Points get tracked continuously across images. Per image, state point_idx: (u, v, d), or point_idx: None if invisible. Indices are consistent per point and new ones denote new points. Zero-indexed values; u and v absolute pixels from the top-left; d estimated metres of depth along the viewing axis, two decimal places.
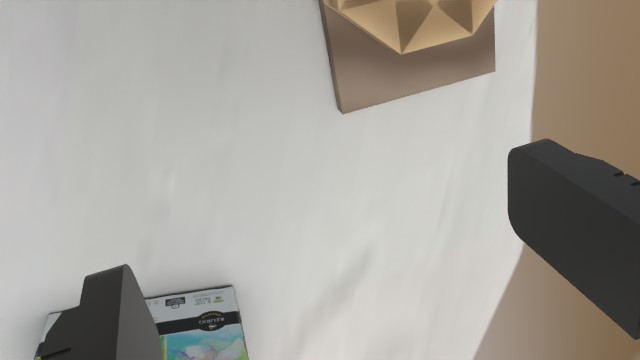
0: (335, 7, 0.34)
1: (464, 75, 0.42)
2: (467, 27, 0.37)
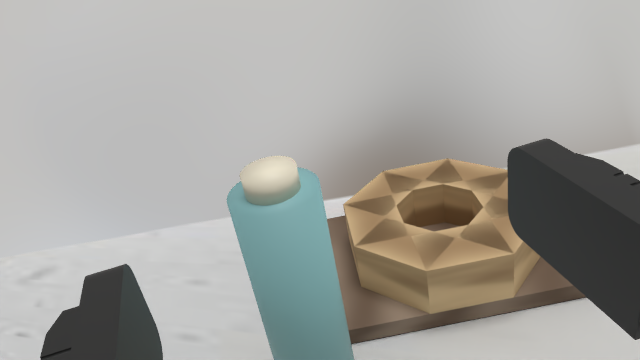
0: (512, 263, 0.32)
1: None
2: (506, 174, 0.40)
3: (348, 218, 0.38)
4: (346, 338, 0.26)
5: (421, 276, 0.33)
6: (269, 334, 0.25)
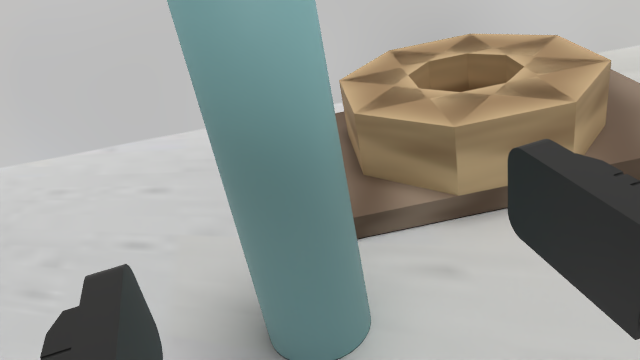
0: (573, 117, 0.23)
1: (610, 73, 0.34)
2: (549, 39, 0.31)
3: (346, 91, 0.29)
4: (342, 179, 0.17)
5: (447, 137, 0.24)
6: (222, 165, 0.16)
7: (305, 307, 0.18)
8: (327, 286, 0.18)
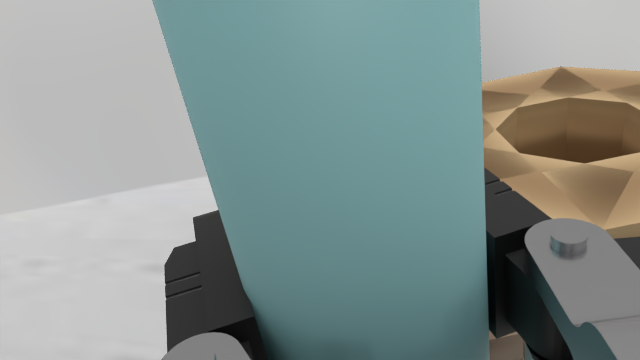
0: None
1: None
2: None
3: None
4: None
5: None
6: None
7: None
8: None
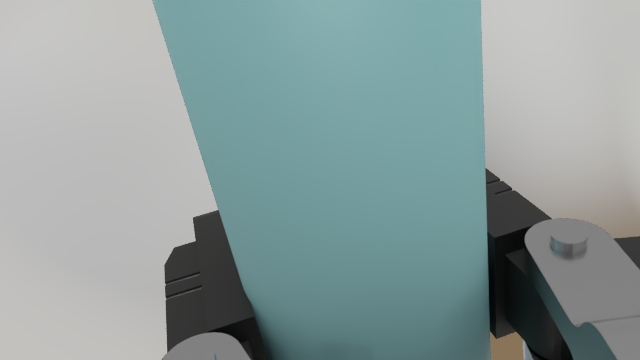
0: None
1: None
2: None
3: None
4: None
5: None
6: None
7: None
8: None
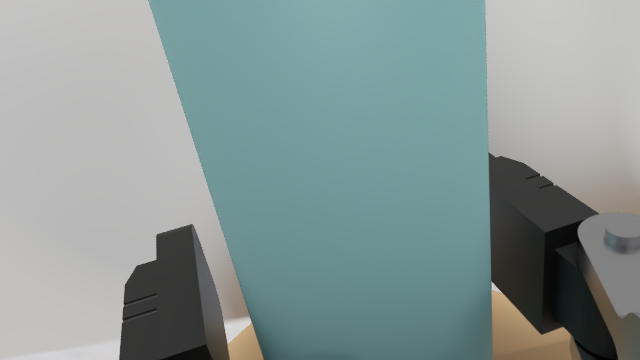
0: None
1: None
2: None
3: None
4: None
5: None
6: None
7: None
8: None
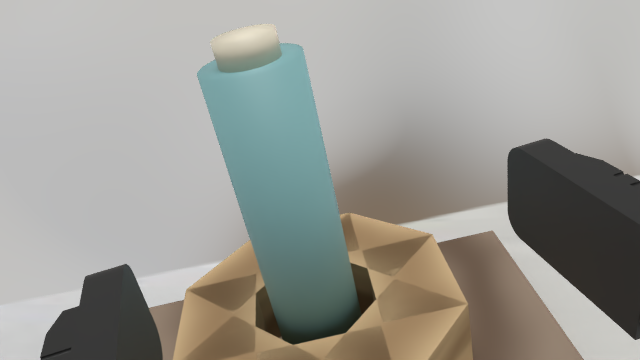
0: None
1: (504, 258, 0.30)
2: (422, 241, 0.27)
3: (183, 315, 0.26)
4: (342, 247, 0.23)
5: None
6: (254, 240, 0.22)
7: None
8: (333, 325, 0.24)
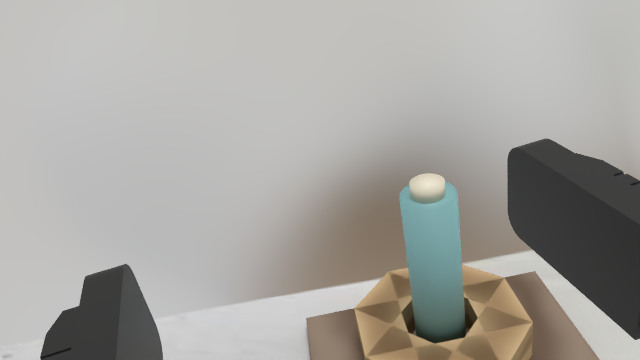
0: None
1: (544, 290, 0.48)
2: (498, 282, 0.45)
3: (359, 324, 0.44)
4: None
5: None
6: (417, 285, 0.40)
7: (444, 341, 0.42)
8: (454, 332, 0.41)
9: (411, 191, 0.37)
